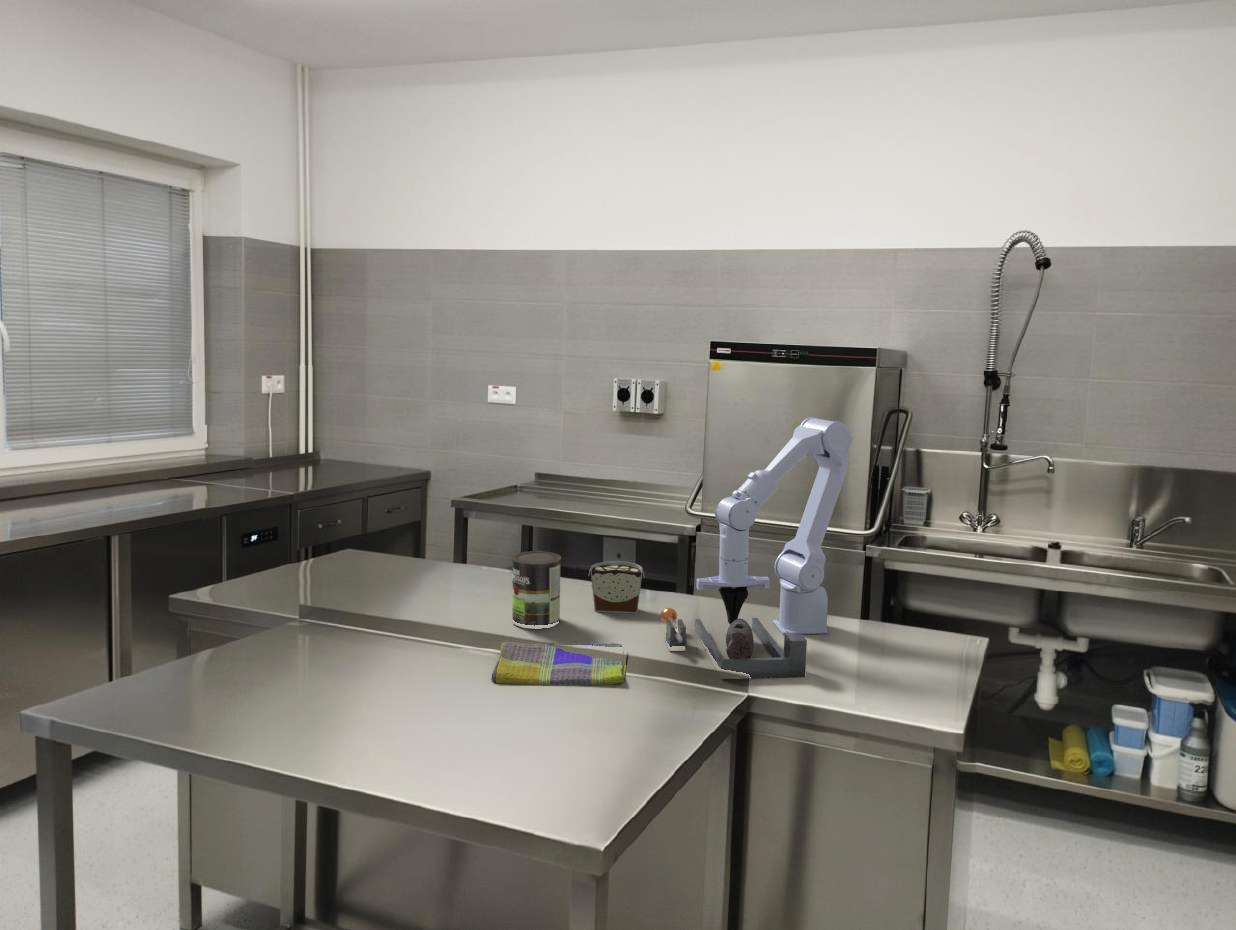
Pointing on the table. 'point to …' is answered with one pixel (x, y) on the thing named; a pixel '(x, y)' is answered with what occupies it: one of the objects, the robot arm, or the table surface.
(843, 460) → the robot arm
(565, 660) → the dish towel
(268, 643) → the table surface
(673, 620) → the lever
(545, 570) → the coffee can
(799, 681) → the table surface
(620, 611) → the food container
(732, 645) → the perforated stone tool
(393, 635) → the table surface
